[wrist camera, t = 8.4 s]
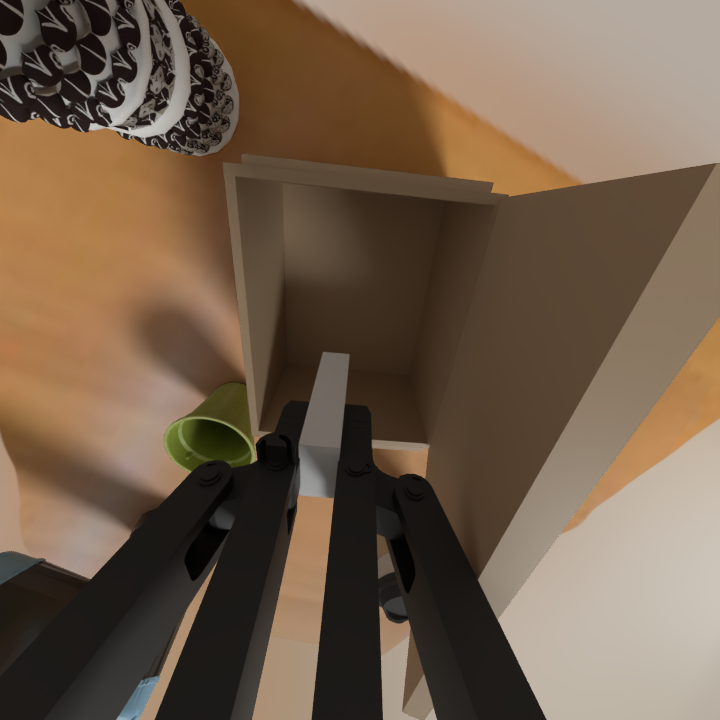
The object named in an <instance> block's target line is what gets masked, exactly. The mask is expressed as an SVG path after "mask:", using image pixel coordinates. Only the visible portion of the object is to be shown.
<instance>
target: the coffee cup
mask: <svg viewBox="0 0 720 720" xmlns="http://www.w3.org/2000/svg"><path fill="white" fill-rule="evenodd" d="M377 555H378V586H379V606H380V607H382V608H383V610H384V612H385V614H386V616H387V618H388V619H389V620H390V621H392V622H395V623H403V622H405V621H407V620H408V616H407V613H406V609H405V606H404V603H403V599H402V596H401V592H400V589H399V585H398V582H397V578H396V575H395V571H394V568H393V564H392V561H391V557H390V554H389V551H388V547H387V544H386V540H385V537H383V536H381V535H378V534H377Z"/></svg>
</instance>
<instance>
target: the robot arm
mask: <svg viewBox="0 0 720 720" xmlns="http://www.w3.org/2000/svg"><path fill="white" fill-rule="evenodd" d="M349 355H350V354H342V353H331V352H323V354H322V357H321V361H320V365H319V369H318V373H317V376H316V380H315V384H314V388H313V391H312V395H311V399H310V402H307V401H294V400H291V401H290V402H288V403H287V404H286V405H285V406H284V407H283V410H282V413H281V415H280V418H279V421H278V424H277V426H276V428H275V431H274V432H272V433H269V434H266V435H264V436H263V437H261V438H260V439H259V440H258V442H257V443H256V451H257V459H258V460H257V461H255V462H253V463H251V464H248V465H244V466H238V467H233V468H231V466H230V465H229V463H227V462H225V461H222V460H213V461H208V462H205V463H203V464H201V465H199V466H198V467H197V468H195V469H194V470H193V471H192V472H191V473H190V474H189V475H188V476H187V477H186V478H185V480H184V481H183V482H182V483H181V484H180V485H179V486H178V487H177V488H176V489H175V490H174V491H173V492H172V493H171V494H170V496H169V497H168V498H167V499H166V500H165V501H164V502H163V503H162V504H161V505H160V506H159V507H158V508H157V509H156V510H152V511H150V512H147V513H146V514H144V515H143V516H142V517H141V518H140V520H139V521H138V523H137V524H136V526H135V527H134V529H133V530H132V532H131V535H130V538H129V539H128V540H127V541H126V543H125V544H124V545H123V546H122V547H121V548H120V549H119V550H118V551H117V552H116V553H115V554H114V555H113V556H112V557H111V559H110V560H109V561H108V562H107V563H106V564H105V565H104V566H103V567H102V568H101V569H100V570H99V571H98V572H97V573H96V575H95V576H94V577H93V578H92V579H88V578H86V577H83V576H81V575H78V574H76V573H74V572H71V571H69V570H66V569H64V568H61V567H59V566H56V565H54V564H51V563H49V562H46V561H45V560H46V559H44V558H39V559H37V558H33V557H30V556H27V555H24V554H21V553H18V552H14V551H7V552H2V553H0V720H138V719H139V718H140V716H141V714H142V712H143V710H144V708H145V706H146V704H147V702H148V700H149V697H150V695H151V693H152V691H153V689H154V687H155V685H156V683H157V682H158V681H159V678H160V673H161V671H162V669H163V666H164V664H165V661H166V659H167V656H168V654H169V651H170V649H171V647H172V644H173V641H174V639H175V637H176V635H177V632H178V630H179V627H180V625H181V622H182V620H183V618H184V615H185V613H186V610H187V608H188V606H189V605H190V603H191V602H192V600H193V598H194V597H195V595H196V594H197V592H198V591H199V589H200V587H201V586H202V584H203V583H204V581H205V580H206V578H207V576H208V575H209V573H210V572H211V570H212V569H213V567H214V565H215V564H216V562H217V561H218V562H217V565H216V567H215V570H214V572H213V575H212V577H211V580H210V582H209V585H208V587H207V590H206V592H205V595H204V597H203V600H202V602H201V605H200V607H199V610H198V612H197V615H196V617H195V620H194V622H193V625H192V627H191V630H190V632H189V635H188V638H187V640H186V643H185V645H184V647H183V650H182V653H181V655H180V657H179V660H178V663H177V665H176V668H175V670H174V673H173V675H172V678H171V680H170V683H169V685H168V688H167V690H166V693H165V695H164V698H163V700H162V703H161V705H160V708H159V710H158V713H157V715H156V718H155V720H252V716H253V711H254V707H255V702H256V698H257V693H258V688H259V683H260V679H261V674H262V670H263V665H264V660H265V656H266V651H267V646H268V642H269V637H270V633H271V628H272V623H273V619H274V614H275V610H276V605H277V600H278V596H279V591H280V586H281V582H282V577H283V572H284V568H285V563H286V559H287V554H288V549H289V545H290V540H291V535H292V531H293V526H294V521H295V517H296V512H297V498H298V494H299V495H300V496H314V497H327V498H334V505H333V514H332V524H331V534H330V544H329V554H328V563H327V573H326V583H325V593H324V603H323V613H322V622H321V632H320V642H319V652H318V662H317V672H316V681H315V692H314V701H313V711H312V720H383V711H382V680H381V648H380V617H379V586H378V555H377V534H378V535H381V536H383V537H385V540H386V544H387V547H388V551H389V554H390V557H391V561H392V564H393V568H394V571H395V575H396V578H397V582H398V585H399V589H400V592H401V596H402V599H403V603H404V606H405V609H406V613H407V616H408V620H409V623H410V627H411V630H412V634H413V637H414V641H415V644H416V648H417V651H418V655H419V658H420V661H421V665H422V668H423V672H424V675H425V679H426V682H427V686H428V689H429V693H430V696H431V700H432V703H433V707H434V710H435V714H436V717H437V720H546V718H545V716H544V714H543V712H542V710H541V708H540V706H539V704H538V701H537V699H536V697H535V695H534V693H533V691H532V690H531V687H530V685H529V683H528V681H527V679H526V677H525V675H524V673H523V671H522V669H521V667H520V665H519V663H518V661H517V659H516V657H515V655H514V653H513V651H512V649H511V647H510V644H509V643H508V640H507V639H506V636H505V634H504V632H503V630H502V628H501V626H500V624H499V622H498V620H497V618H496V616H495V614H494V612H493V610H492V608H491V606H490V604H489V602H488V600H487V598H486V596H485V593H484V591H483V589H482V587H481V585H480V583H479V581H478V579H477V577H476V575H475V573H474V571H473V569H472V567H471V565H470V563H469V561H468V559H467V557H466V555H465V553H464V551H463V549H462V547H461V545H460V543H459V540H458V538H457V536H456V534H455V532H454V530H453V528H452V526H451V524H450V522H449V520H448V518H447V516H446V514H445V512H444V510H443V508H442V506H441V504H440V502H439V500H438V498H437V496H436V494H435V492H434V490H433V487H432V486H431V485H430V483H429V482H428V481H427V480H426V479H424V478H423V477H421V476H418V475H416V474H405V475H402V476H400V477H399V478H398V479H397V478H395V477H392V476H389V475H387V474H385V473H383V472H382V471H380V470H379V469H378V468H377V467H376V465H375V464H374V462H373V457H372V424H371V412H370V411H369V409H368V407H367V406H364V405H351V404H345V402H346V391H347V379H348V367H349ZM218 559H219V560H218Z"/></svg>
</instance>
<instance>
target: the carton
mask: <svg viewBox="0 0 720 720" xmlns="http://www.w3.org/2000/svg"><path fill="white" fill-rule="evenodd" d="M241 161H242V164H236V163H228V162H223V172H224V181H225V190H226V200H227V209H228V218H229V227H230V237H231V246H232V255H233V265H234V274H235V283H236V293H237V302H238V311H239V320H240V330H241V339H242V348H243V358H244V367H245V376H246V386H247V395H248V404H249V413H250V423H251V432H252V436H260V437H263V436H264V435H266V434H269V433H272V432H274V431H275V428H276V426H277V424H278V421H279V418H280V415H281V413H282V410H283V407H284V406H285V405H286V404H287V403H288V402H290V401H291V400H294V401H307V402H310V399H311V395H312V391H313V388H314V384H315V380H316V376H317V373H318V369H319V365H320V361H321V357H322V354H323V352H331V353H342V354H350V355H349V367H348V379H347V391H346V402H345V404H351V405H364V406H367V407H368V409H369V411H370V412H371V424H372V448H378V449H392V450H406V451H419V452H420V450H421V448H423V449H429V446H430V442H431V439H432V435H433V432H434V429H435V425H436V422H437V418H438V415H439V411H440V408H441V405H442V401H443V398H444V394H445V391H446V387H447V384H448V380H449V377H450V374H451V370H452V367H453V363H454V360H455V356H456V353H457V350H458V346H459V343H460V339H461V336H462V332H463V329H464V325H465V322H466V319H467V315H468V312H469V308H470V305H471V301H472V298H473V294H474V291H475V288H476V284H477V281H478V277H479V274H480V270H481V267H482V264H483V260H484V257H485V253H486V250H487V246H488V243H489V239H490V236H491V233H492V229H493V226H494V222H495V219H496V215H497V212H498V209H499V205H500V202H501V198H504V197H508V196H509V195H506V194H497V193H491V191H492V187H493V183H492V182H484V181H475V180H466V179H458V178H449V177H441V176H432V175H424V174H415V173H406V172H398V171H389V170H381V169H372V168H364V167H355V166H346V165H338V164H329V163H321V162H312V161H304V160H295V159H286V158H278V157H269V156H261V155H252V154H244V153H241Z"/></svg>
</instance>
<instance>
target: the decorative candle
mask: <svg viewBox="0 0 720 720" xmlns="http://www.w3.org/2000/svg"><path fill="white" fill-rule="evenodd" d="M0 115H1V116H3V117H5V118H7V119H9V120H11V121H15V122H26V121H27V120H33V119H37V118H38V117H40V118H41V119H42V120H44V121H45V122H47V123H49V124H53V125H55V126H57V127H59V128H63V129H65V128H69V127H72V128H74V129H75V130H77V131H80V132H89V130H93V131H95V130H100V129H104V128H108V129H111V130H115V131H116V132H117V133H118V134H119V135H120V136H121V137H123V138H124V139H127V140H131V139H133V138H135V139H136V140H137V141H139V142H141V143H142V144H144V145H147V146H153V145H154V146H156V147H158V148H160V149H168V150H170V151H172V152H175V153H182V154H184V155H196V156H203V155H208V154H212V153H217V152H218V151H219V150H220V149H222V148H223V147H224V146H225V145H226V144H227V143H228V142H229V141H230V140H231V139H232V136H233V134H234V131H235V129H236V126H237V124H238V121H239V91H238V88H237V84H236V81H235V77H234V74H233V70H232V67H231V66H230V64H229V62H228V61H227V59H226V58H225V56H224V54H223V53H222V51H221V49H220V48H219V46H218V45H217V43H216V42H215V41H214V40H213V39H212V38H211V37H209V33H208V31H207V30H206V29H205V28H203V27H199V23H198V20H197V19H196V18H195V17H194V16H192V15H188V14H187V13H186V12H185V9H184V7H183V5H182V4H181V3H180V2H179V1H178V0H0ZM88 129H89V130H88Z"/></svg>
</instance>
